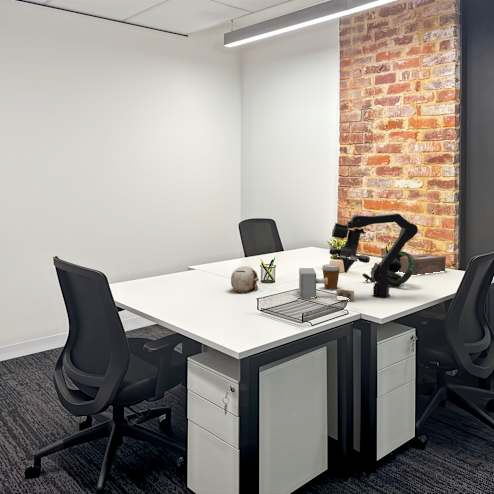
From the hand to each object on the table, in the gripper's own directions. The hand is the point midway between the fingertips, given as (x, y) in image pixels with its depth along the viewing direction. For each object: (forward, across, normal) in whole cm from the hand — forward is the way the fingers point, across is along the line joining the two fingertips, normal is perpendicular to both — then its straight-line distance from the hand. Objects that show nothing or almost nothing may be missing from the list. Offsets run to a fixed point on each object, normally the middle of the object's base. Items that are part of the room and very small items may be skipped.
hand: (345, 272), depth 253 cm
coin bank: (+22, -48, -7) cm, 53 cm away
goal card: (+12, +5, -8) cm, 15 cm away
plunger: (+8, -9, -4) cm, 13 cm away
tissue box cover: (0, +20, +85) cm, 87 cm away
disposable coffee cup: (+13, -10, +16) cm, 23 cm away
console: (+15, -15, -4) cm, 21 cm away
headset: (+6, +14, +37) cm, 40 cm away
